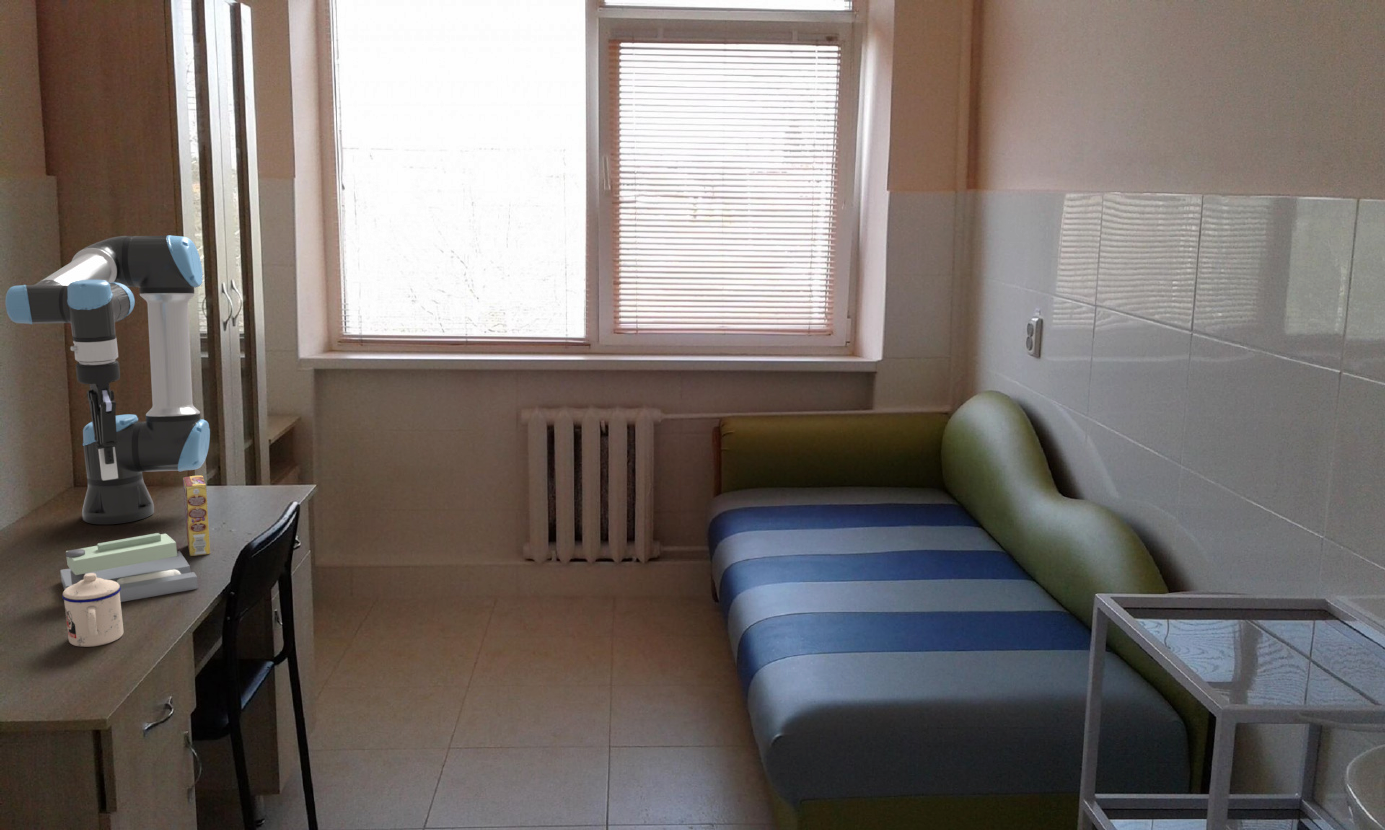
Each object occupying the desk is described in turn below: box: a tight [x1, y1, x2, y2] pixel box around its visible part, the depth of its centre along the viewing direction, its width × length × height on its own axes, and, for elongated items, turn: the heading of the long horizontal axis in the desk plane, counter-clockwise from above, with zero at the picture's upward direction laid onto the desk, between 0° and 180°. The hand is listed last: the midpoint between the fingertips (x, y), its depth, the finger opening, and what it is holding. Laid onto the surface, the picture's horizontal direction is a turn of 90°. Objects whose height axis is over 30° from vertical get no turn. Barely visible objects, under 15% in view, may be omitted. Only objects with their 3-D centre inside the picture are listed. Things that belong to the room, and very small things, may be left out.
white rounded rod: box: [117, 569, 181, 585], centre depth 233 cm, size 3×12×3 cm
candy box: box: [182, 475, 211, 557], centre depth 255 cm, size 9×4×15 cm, turn 26°
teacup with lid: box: [61, 573, 124, 648], centre depth 207 cm, size 12×9×12 cm
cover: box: [65, 532, 178, 575], centre depth 230 cm, size 19×7×4 cm, turn 128°
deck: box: [59, 550, 199, 603], centre depth 234 cm, size 18×22×6 cm
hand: (109, 478), depth 237 cm, fingers closed
